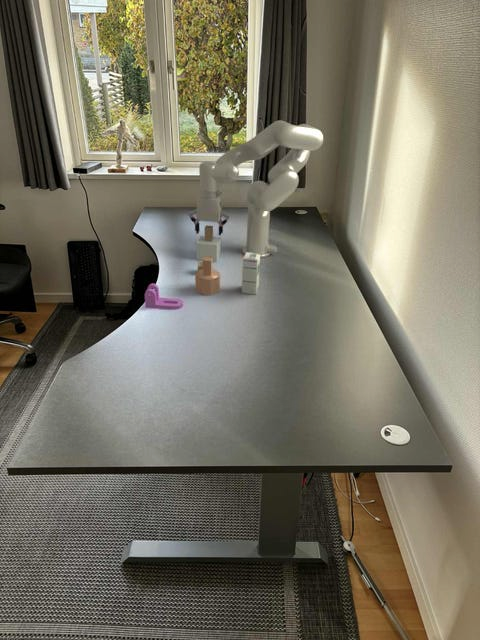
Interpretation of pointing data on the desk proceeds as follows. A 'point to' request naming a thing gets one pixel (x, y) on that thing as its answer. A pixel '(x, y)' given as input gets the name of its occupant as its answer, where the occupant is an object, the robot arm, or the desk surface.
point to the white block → (208, 245)
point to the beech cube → (200, 265)
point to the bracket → (160, 299)
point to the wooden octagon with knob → (207, 278)
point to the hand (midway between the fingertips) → (209, 233)
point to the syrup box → (250, 273)
